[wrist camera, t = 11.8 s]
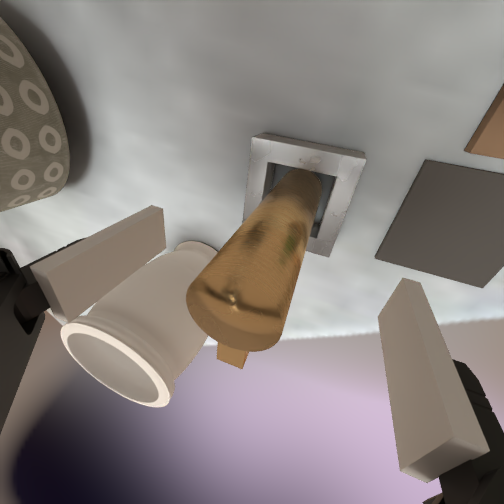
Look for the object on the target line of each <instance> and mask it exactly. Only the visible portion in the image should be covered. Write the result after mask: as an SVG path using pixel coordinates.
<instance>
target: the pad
mask: <svg viewBox="0 0 504 504" xmlns="http://www.w3.org/2000/svg"><path fill="white" fill-rule="evenodd" d="M375 259H379V260H382V261H386V262H389V263H393V264H397V265H400V266H404V267H407V268H411V269H415V270H418V271H422V272H425V273H429V274H433V275H436V276H440V277H444V278H447V279H451V280H454V281H458V282H462V283H465V284H469V285H472V286H476V287H480V288H484V286H485V285H486V284H487V283H488V282H489V281H490V280H491V279H492V278H493V277H494V276H495V275H496V274H497V273H498V272H499V271H500V269H501V268H502V267H503V266H504V174H500V173H495V172H490V171H484V170H479V169H474V168H468V167H463V166H458V165H452V164H447V163H442V162H436V161H431V160H426V159H425V161H424V163H423V165H422V167H421V169H420V171H419V173H418V175H417V177H416V179H415V180H414V182H413V184H412V186H411V188H410V190H409V192H408V194H407V196H406V198H405V200H404V201H403V203H402V205H401V207H400V209H399V211H398V213H397V215H396V217H395V219H394V221H393V222H392V224H391V226H390V228H389V230H388V232H387V234H386V236H385V238H384V240H383V242H382V244H381V245H380V247H379V249H378V251H377V253H376V255H375Z"/></svg>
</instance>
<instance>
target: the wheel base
mask: <svg viewBox="0 0 504 504" xmlns="http://www.w3.org/2000/svg"><path fill="white" fill-rule="evenodd" d="M464 151H466V152H469V153H473V154H478V155H484V156H490V157H495V158H501V159H504V85H503V86H502V88H501V90H500V91H499V93H498V95H497V96H496V98H495V100H494V101H493V103H492V105H491V106H490V108H489V110H488V111H487V113H486V115H485V116H484V118H483V120H482V121H481V123H480V125H479V126H478V128H477V130H476V131H475V133H474V135H473V136H472V138H471V140H470V141H469V143H468V145H467V146H466V148H465V150H464Z"/></svg>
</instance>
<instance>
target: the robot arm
mask: <svg viewBox="0 0 504 504" xmlns="http://www.w3.org/2000/svg"><path fill="white" fill-rule="evenodd" d="M165 248H166V239H165V227H164V216H163V208H159V207H156V206H152V205H151V206H149V207H147V208H145V209H143V210H141V211H139V212H137V213H135V214H133V215H131V216H129V217H127V218H125V219H123V220H121V221H119V222H117V223H115V224H113V225H111V226H109V227H107V228H105V229H103V230H101V231H99V232H97V233H95V234H93V235H91V236H89V237H87V238H83V239H79V240H77V241H75V242H72V243H70V244H68V245H67V246H66V247H65V246H64V247H62V248H60V249H58V251H54V252H52V253H50V254H48V255H46V256H44V257H42V258H40V259H38V260H36V261H34V262H32V263H30V264H28V265H26V266H24V267H21V268H20V267H19V265H18V263H17V261H16V259H15V257H14V256H13V254H12V252H11V251H10V250H9V249H5V248H0V434H1V431H2V428H3V426H4V423H5V421H6V418H7V415H8V413H9V410H10V407H11V405H12V403H13V400H14V397H15V395H16V392H17V390H18V387H19V384H20V382H21V379H22V376H23V374H24V372H25V369H26V366H27V364H28V361H29V359H30V356H31V354H32V351H33V348H34V346H35V343H36V341H37V338H38V335H39V333H40V330H41V328H42V325H43V323H44V320H45V313H44V311H45V310H47V309H48V308H51V310H52V312H53V314H54V316H55V317H56V318H58V319H60V320H63V321H65V322H67V323H70V322H71V321H73V320H74V319H75V318H76V317H78V316H79V315H80V314H82V313H83V312H84V311H85V310H87V309H88V308H89V307H91V306H92V305H93V304H94V303H96V302H97V301H98V300H100V299H101V298H102V297H103V296H105V295H106V294H107V293H109V292H110V291H111V290H112V289H114V288H115V287H116V286H118V285H119V284H120V283H122V282H123V281H124V280H125V279H127V278H128V277H129V276H131V275H132V274H133V273H134V272H136V271H137V270H138V269H140V268H141V267H142V266H143V265H145V264H146V263H147V262H149V261H150V260H151V259H152V258H154V257H155V256H156V255H158V254H159V253H160V252H161V251H163V250H164V249H165ZM378 322H379V329H380V336H381V343H382V350H383V357H384V363H385V370H386V377H387V384H388V391H389V398H390V405H391V411H392V419H393V426H394V432H395V440H396V447H397V453H398V460H399V467H400V471H401V472H403V473H406V474H408V475H410V476H412V477H415V478H417V479H419V480H421V481H424V482H426V483H428V482H430V481H432V480H434V479H436V478H438V477H439V480H440V484H441V488H442V492H443V493H440V494H438V495H436V496H434V497H431V498H429V499H427V500H426V501H424V502H423V504H504V432H503V430H502V428H501V426H500V424H499V422H498V420H497V418H496V416H495V414H494V412H492V407H491V405H490V403H489V401H488V399H487V398H485V396H486V395H485V393H484V391H483V388H482V386H481V384H480V382H479V380H478V379H477V378H476V376H475V375H474V374H473V373H472V371H471V370H470V369H469V368H468V367H467V365H466V364H465V363H462V362H459V361H456V360H453V359H452V358H451V355H450V353H449V350H448V348H447V346H446V343H445V341H444V339H443V336H442V334H441V331H440V329H439V326H438V324H437V322H436V319H435V317H434V314H433V312H432V310H431V307H430V305H429V302H428V300H427V298H426V295H425V293H424V290H423V288H422V285H421V283H420V282H416V281H413V280H409V279H406V278H402V280H401V281H400V283H399V284H398V286H397V287H396V289H395V291H394V292H393V294H392V295H391V297H390V298H389V300H388V301H387V303H386V305H385V306H384V308H383V309H382V311H381V312H380V314H379V316H378Z"/></svg>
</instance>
